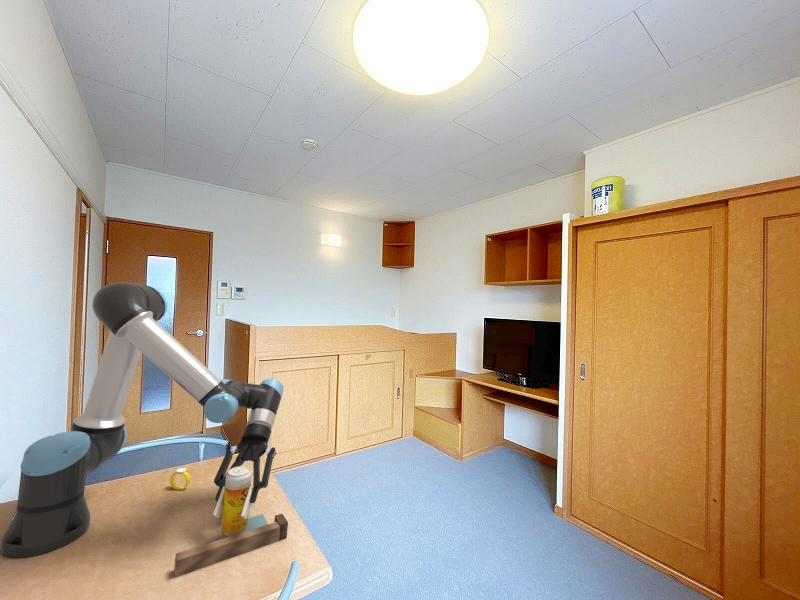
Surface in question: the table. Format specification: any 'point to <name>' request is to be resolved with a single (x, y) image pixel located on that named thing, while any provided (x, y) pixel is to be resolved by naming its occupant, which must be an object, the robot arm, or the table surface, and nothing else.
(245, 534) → the brown l-shaped hook tool
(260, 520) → the pad
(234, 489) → the orange soda can
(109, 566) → the table surface
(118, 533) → the table surface
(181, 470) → the watch
